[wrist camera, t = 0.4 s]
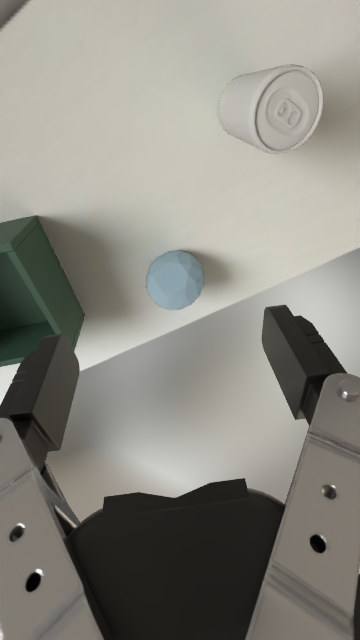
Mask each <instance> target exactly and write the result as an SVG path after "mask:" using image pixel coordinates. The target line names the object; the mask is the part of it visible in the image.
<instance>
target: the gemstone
mask: <svg viewBox="0 0 360 640" xmlns="http://www.w3.org/2000/svg"><path fill="white" fill-rule="evenodd" d="M203 285H204V272H203V269H202V267H201V265H200V263H199V261H198V260H197V259H196V258H195V257H193V256H192V255H191V254H189V253H186V252H183V251H180V250H179V251H169V252H167V253H165V254H163V255H161V256H159V257H158V258H157V259H156V260H155V261H154V262H153V263H152V265H151V266H150V268H149V271H148V274H147V276H146V288H147V290H148V293H149V295H150V298H151V299H152V300H153V301H154V302H155V303H156V304H157V305H158V306H160V307H163V308H165V309H168V310H180V309H183V308H185V307H187V306H189V305H191V304H192V303H193V302H194V301H195V300H196V299H197V298H198V297H199V295H200V293H201V290H202V288H203Z"/></svg>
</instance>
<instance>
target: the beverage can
mask: <svg viewBox="0 0 360 640" xmlns="http://www.w3.org/2000/svg"><path fill="white" fill-rule="evenodd" d="M323 102H324V101H323V90H322V87H321V84H320V81H319V80H318V78H317V77H316V75H315V74H314V73H313V72H311V71H310V70H308V69H307V68H304V67H302V66H298V65H293V64H291V65H285V66H280V67H276V68H271V69H267V70H263V71H259V72H255V73H250V74H246V75H242V76H239V77H237V78H235V79H233V80H232V81H231V82H230V83H229V84H228V85H227V86H226V87H225V89H224V90H223V92H222V95H221V97H220V100H219V105H218V117H219V120H220V124H221V126H222V127H223V129H224V130H225V131H226V132H227V133H228V134H230V135H232V136H234V137H236V138H238V139H240V140H242V141H245V142H247V143H249V144H251V145H253V146H255V147H257V148H259V149H261V150H263V151H265V152H267V153H273V154H281V153H287V152H290V151H292V150H295V149H297V148H298V147H300V146H301V145H302V144H303V143H305V142H306V141H307V140H308V138H309V137H310V136H311V135H312V134H313V132H314V130H315V128H316V127H317V125H318V123H319V120H320V117H321V114H322V109H323Z"/></svg>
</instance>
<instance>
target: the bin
mask: <svg viewBox="0 0 360 640" xmlns="http://www.w3.org/2000/svg"><path fill="white" fill-rule="evenodd" d="M84 317H85V314H84V312H83V310H82V308H81V306H80V304H79V302H78V300H77V298H76V296H75V294H74V292H73V290H72V288H71V286H70V284H69V282H68V280H67V277H66V275H65V273H64V271H63V269H62V267H61V265H60V263H59V261H58V259H57V257H56V255H55V253H54V251H53V249H52V247H51V245H50V243H49V241H48V238H47V236H46V234H45V232H44V230H43V228H42V226H41V224H40V222H39V220H38V218H37V216H31V217H26V218H21V219H17V220H12V221H7V222H2V223H0V367H2V366H7V365H12V364H17V363H21V362H22V360H23V359H24V358H25V357H26V356H27V355H28V354H29V353H30V352H31V351H32V350H37V348H38V346H39V344H40V341H41V339H42V338H43V337H44V336H48V335H56V334H65V335H66V336H67V338H68V340H69V342H70V344H71V347H72V349H73V351H74V350H75V347H76V343H77V340H78V337H79V333H80V330H81V327H82V323H83V320H84Z"/></svg>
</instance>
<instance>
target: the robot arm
mask: <svg viewBox="0 0 360 640" xmlns="http://www.w3.org/2000/svg"><path fill="white" fill-rule="evenodd" d="M262 344H263V348H264V351H265V353H266V355H267V358H268V360H269V362H270V365H271V367H272V369H273V371H274V373H275V376H276V378H277V380H278V382H279V384H280V387H281V389H282V391H283V394H284V396H285V398H286V400H287V403H288V405H289V407H290V409H291V412H292V414H293V416H294V418H295V420H297V419H305V418H306V420H307V422H308V424H309V429H308V432H307V435H306V438H305V441H304V444H303V448H302V451H301V454H300V457H299V460H298V464H297V468H296V470H295V473H294V477H293V480H292V483H291V486H290V489H289V492H288V495H287V498H286V502H285V504H283V503H282V502H280V501H279V500H277V499H275V498H274V497H272V496H270V495H268V494H266V493H264V492H261V491H258V490H254V489H249V488H247V486H246V482H245V479H244V478H243V479H235V480H229V481H220V482H213V483H209V484H207V485H204V486H202V487H200V488H198V489H195V490H193V491H191V492H188V493H186V494H184V495H182V496H179V497H177V498H170V497H164V496H158V495H152V494H145V493H140V492H138V493H130V494H123V495H115V496H108V497H104V504H103V508H102V509H100V510H98V511H97V512H95V513H93V514H92V515H90V516H89V517H87V518H86V519H85V520H83V521H82V522H81V523H80V521H79V520H78V518H77V517H76V515H75V514H74V512H73V511H72V510H71V508H70V506H69V505H68V503H67V501H66V499H65V497H64V495H63V493H62V491H61V489H60V487H59V485H58V484H57V482H56V480H55V478H54V476H53V474H52V472H51V470H50V468H49V466H48V464H47V463H46V462H45V460H46V457H47V453H48V452H49V451H57V450H60V448H61V444H62V440H63V436H64V432H65V428H66V424H67V420H68V416H69V412H70V408H71V404H72V400H73V397H74V393H75V389H76V385H77V380H78V376H79V362H78V359H77V357H76V355H75V353H74V351H73V349H72V347H71V344H70V342H69V340H68V338H67V336H66V335H65V334H56V335H48V336H44V337H43V338H42V339H41V341H40V344H39V346H38V348H37V350H32V351H31V352H30V353H29V354H28V355H27V356H26V357H25V358H24V359H23V360H22V362H21V364H20V366H19V368H18V370H17V374H15V376H14V378H13V380H12V384H11V385H10V387H9V389H8V391H7V393H6V395H5V397H4V399H3V401H2V403H1V405H0V640H360V574H359V567H360V378H359V377H357V376H354V375H351V374H347V372H346V371H345V369H344V368H343V367H342V365H341V364H340V362H339V361H338V360H337V358H336V357H335V355H334V354H333V352H332V351H331V350H330V348H329V347H328V345H327V344H326V343H324V340H323V338H322V337H321V336H320V335H319V334H318V331H317V330H316V329H315V327H314V326H313V324H312V323H311V322H309V321H308V320H306V319H305V318H303V317H302V316H293V314H292V313H291V311H290V310H289V308H288V307H287V306H286V305H279V306H271V307H266V308H265V311H264V320H263V330H262Z"/></svg>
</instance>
